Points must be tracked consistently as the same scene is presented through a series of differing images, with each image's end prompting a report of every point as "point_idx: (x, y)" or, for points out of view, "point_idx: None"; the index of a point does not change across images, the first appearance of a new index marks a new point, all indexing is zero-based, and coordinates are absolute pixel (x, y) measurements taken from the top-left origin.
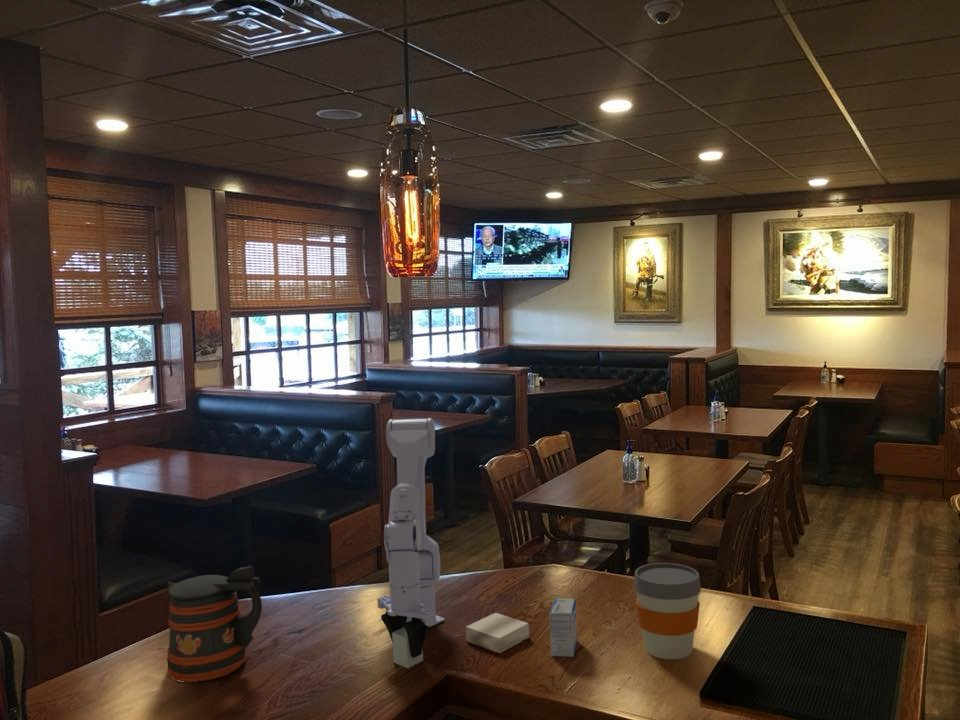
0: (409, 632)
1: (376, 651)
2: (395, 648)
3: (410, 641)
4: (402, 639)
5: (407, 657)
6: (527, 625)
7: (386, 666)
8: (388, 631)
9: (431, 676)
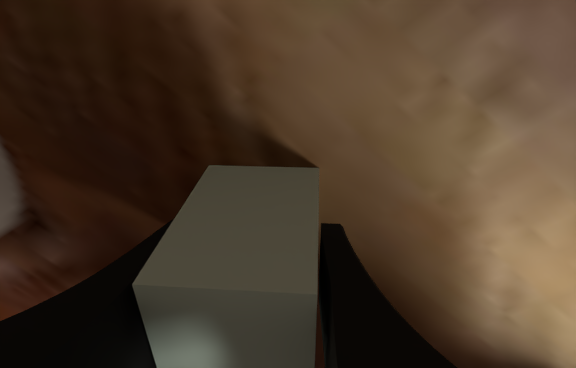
0: (25, 331)
1: (499, 201)
2: (290, 214)
3: (116, 275)
4: (190, 268)
5: (190, 197)
6: None
7: (317, 116)
8: (383, 298)
9: (63, 176)
